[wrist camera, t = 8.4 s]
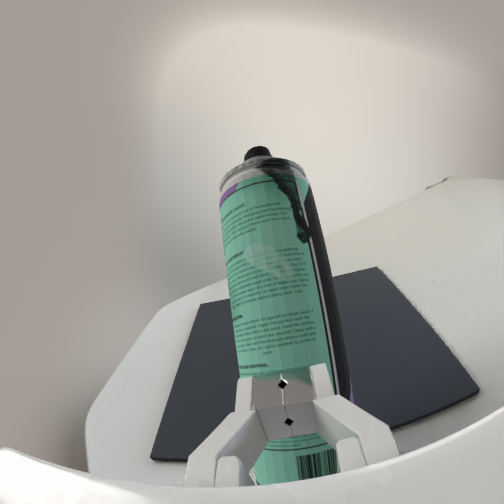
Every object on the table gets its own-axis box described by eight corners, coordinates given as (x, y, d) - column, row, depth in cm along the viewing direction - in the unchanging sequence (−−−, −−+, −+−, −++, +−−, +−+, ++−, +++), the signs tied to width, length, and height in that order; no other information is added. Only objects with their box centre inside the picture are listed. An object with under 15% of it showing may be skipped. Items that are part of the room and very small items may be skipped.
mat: (152, 459, 17) (149, 457, 16) (201, 306, 39) (200, 303, 39) (478, 392, 14) (480, 389, 14) (377, 269, 37) (376, 266, 37)
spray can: (379, 468, 12) (315, 144, 18) (312, 517, 8) (248, 112, 15) (307, 460, 15) (263, 184, 22) (238, 490, 12) (199, 165, 19)
